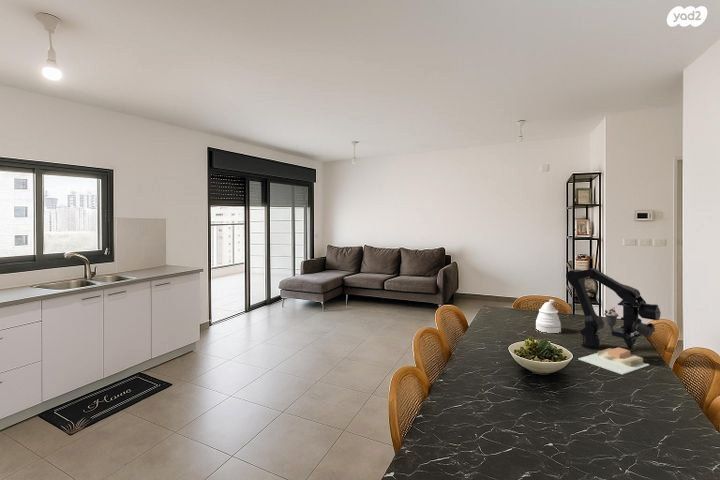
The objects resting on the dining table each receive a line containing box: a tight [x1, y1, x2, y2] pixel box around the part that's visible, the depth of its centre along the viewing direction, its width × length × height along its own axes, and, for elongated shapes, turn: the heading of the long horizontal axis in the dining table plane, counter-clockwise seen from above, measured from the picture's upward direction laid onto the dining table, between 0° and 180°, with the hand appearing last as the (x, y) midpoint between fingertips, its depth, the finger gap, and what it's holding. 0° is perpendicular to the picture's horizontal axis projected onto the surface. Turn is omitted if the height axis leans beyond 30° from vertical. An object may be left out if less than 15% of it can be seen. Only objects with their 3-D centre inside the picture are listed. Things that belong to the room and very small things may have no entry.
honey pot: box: [535, 299, 562, 334], centre depth 208 cm, size 13×13×18 cm
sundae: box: [603, 308, 619, 335], centre depth 200 cm, size 7×7×15 cm
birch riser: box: [597, 347, 644, 367], centre depth 163 cm, size 14×9×2 cm, turn 24°
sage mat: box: [577, 352, 650, 375], centre depth 161 cm, size 19×19×1 cm
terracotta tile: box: [608, 347, 631, 358], centre depth 163 cm, size 5×8×2 cm, turn 114°
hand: (630, 349), depth 167 cm, fingers closed
